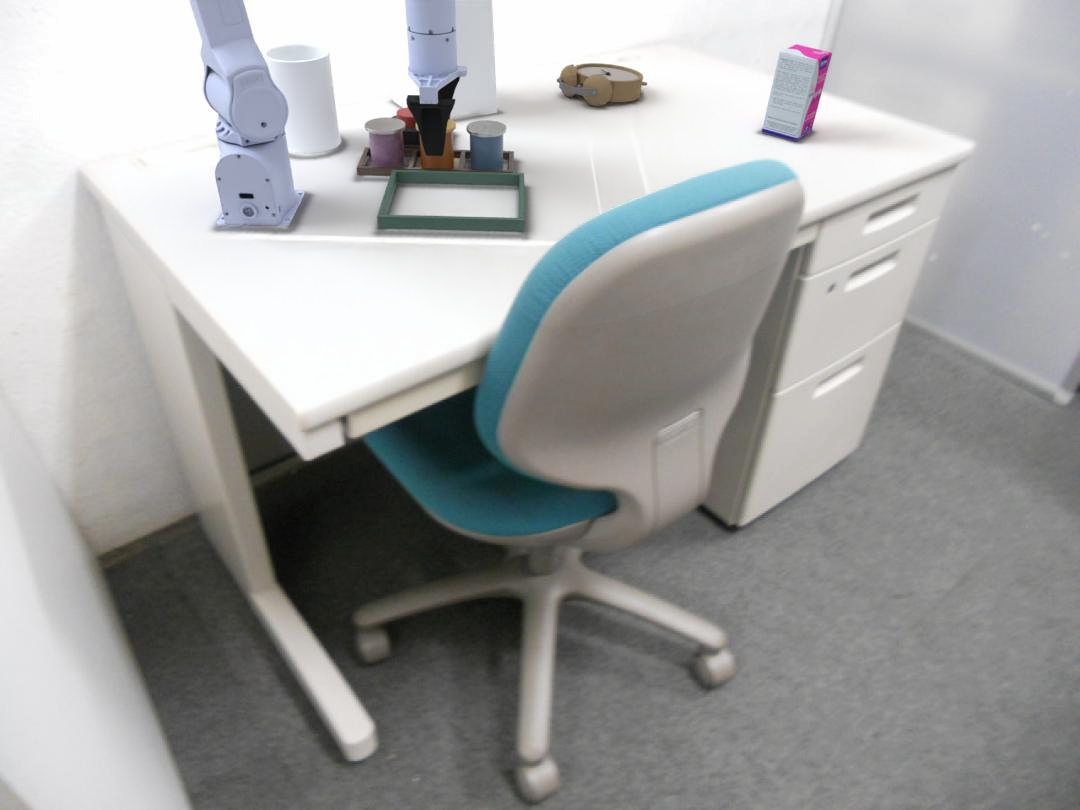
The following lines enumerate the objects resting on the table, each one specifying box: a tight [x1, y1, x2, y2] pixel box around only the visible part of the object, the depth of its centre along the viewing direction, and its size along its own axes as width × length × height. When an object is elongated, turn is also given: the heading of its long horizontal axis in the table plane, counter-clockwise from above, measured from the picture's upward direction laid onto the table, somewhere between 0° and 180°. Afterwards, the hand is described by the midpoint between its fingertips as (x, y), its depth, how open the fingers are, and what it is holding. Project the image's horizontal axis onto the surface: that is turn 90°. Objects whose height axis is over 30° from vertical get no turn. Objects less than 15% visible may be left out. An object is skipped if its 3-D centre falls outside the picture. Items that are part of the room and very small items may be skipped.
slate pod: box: [465, 119, 507, 170], centre depth 104 cm, size 5×5×5 cm
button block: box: [390, 114, 420, 149], centre depth 111 cm, size 10×8×3 cm
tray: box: [376, 170, 525, 233], centre depth 96 cm, size 13×16×2 cm
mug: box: [263, 43, 342, 155], centre depth 108 cm, size 12×8×12 cm
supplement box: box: [760, 43, 833, 142], centre depth 118 cm, size 6×6×12 cm
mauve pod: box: [364, 117, 406, 167], centre depth 104 cm, size 5×5×5 cm
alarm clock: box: [556, 62, 648, 107], centre depth 130 cm, size 11×5×15 cm
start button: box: [396, 107, 416, 128], centre depth 110 cm, size 4×4×2 cm
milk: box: [389, 0, 498, 119], centre depth 117 cm, size 12×12×26 cm
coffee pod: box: [416, 118, 457, 169], centre depth 104 cm, size 5×5×5 cm
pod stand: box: [356, 146, 515, 177], centre depth 105 cm, size 7×20×2 cm, turn 91°
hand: (437, 143), depth 104 cm, fingers open, 7 cm apart
